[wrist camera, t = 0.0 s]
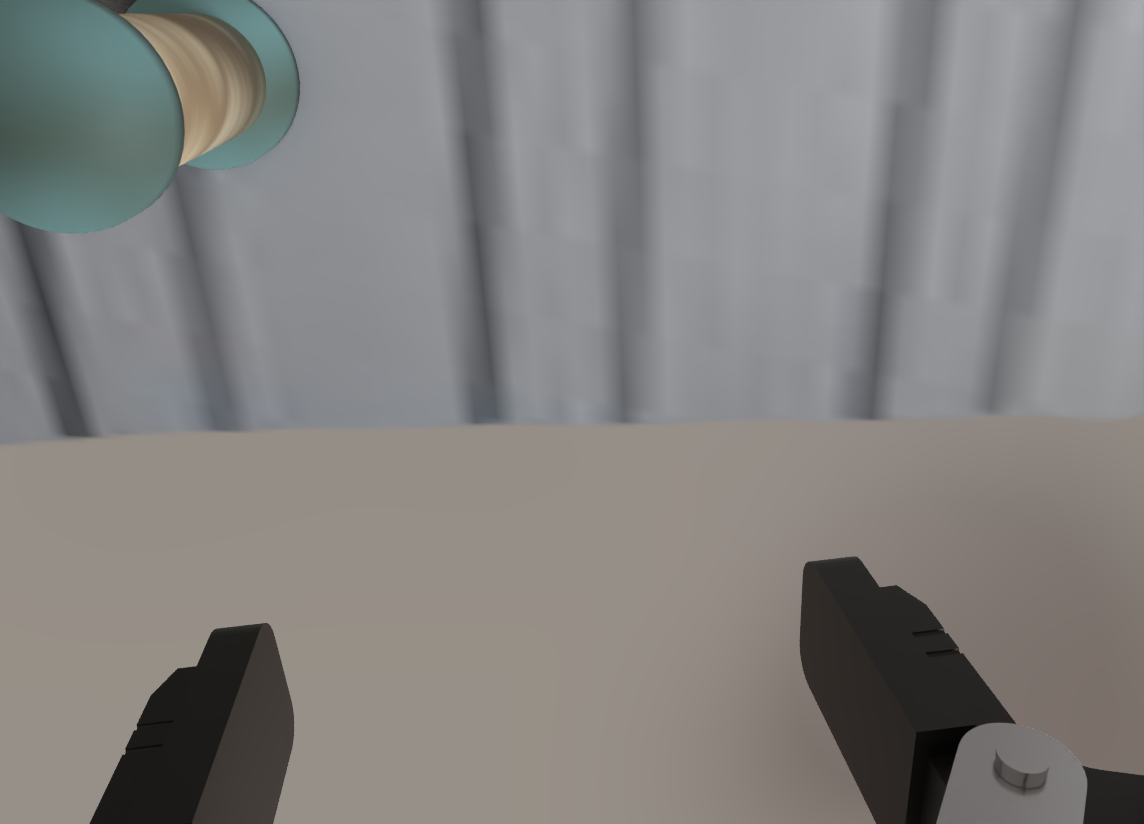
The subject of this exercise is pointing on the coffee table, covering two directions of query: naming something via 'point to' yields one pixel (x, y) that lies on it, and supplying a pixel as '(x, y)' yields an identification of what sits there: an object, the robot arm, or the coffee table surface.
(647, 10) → the coffee table surface
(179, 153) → the bobbin
